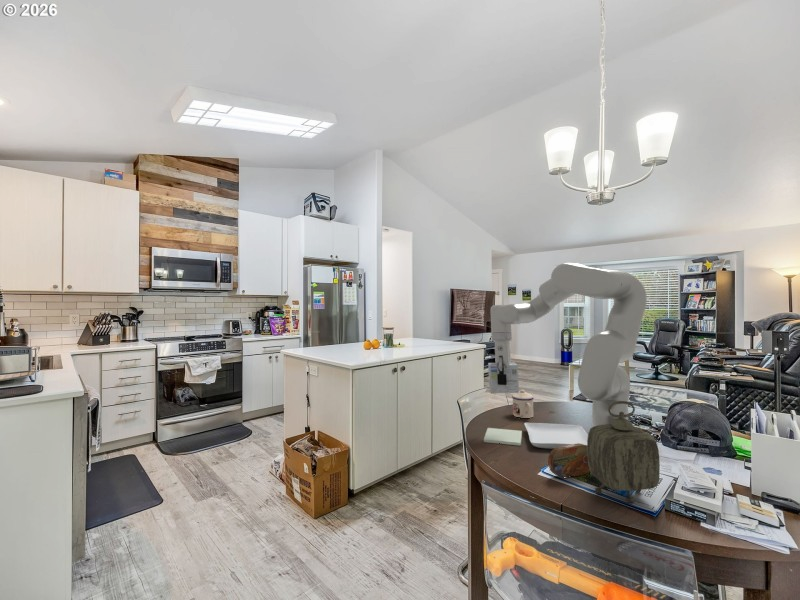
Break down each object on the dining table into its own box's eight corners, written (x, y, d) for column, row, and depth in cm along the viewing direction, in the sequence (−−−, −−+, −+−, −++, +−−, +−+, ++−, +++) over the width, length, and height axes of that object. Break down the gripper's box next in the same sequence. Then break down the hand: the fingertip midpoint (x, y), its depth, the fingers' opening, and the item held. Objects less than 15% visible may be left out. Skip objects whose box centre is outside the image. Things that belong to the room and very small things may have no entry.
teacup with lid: (509, 413, 171) (508, 388, 171) (528, 412, 172) (527, 387, 172) (520, 422, 159) (519, 394, 159) (540, 420, 160) (540, 393, 160)
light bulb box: (516, 389, 147) (515, 361, 147) (519, 393, 141) (518, 364, 141) (488, 389, 149) (487, 362, 149) (490, 393, 142) (489, 364, 142)
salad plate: (598, 455, 125) (597, 444, 125) (531, 451, 129) (530, 441, 129) (580, 433, 145) (580, 424, 146) (523, 430, 150) (523, 422, 150)
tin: (554, 480, 107) (552, 451, 107) (546, 476, 110) (545, 447, 110) (596, 472, 111) (595, 443, 111) (588, 468, 114) (587, 440, 114)
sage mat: (520, 445, 133) (520, 442, 133) (483, 441, 138) (483, 439, 138) (521, 433, 146) (521, 430, 146) (487, 430, 150) (487, 427, 150)
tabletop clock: (640, 488, 102) (637, 396, 102) (665, 507, 92) (662, 405, 93) (587, 491, 101) (585, 398, 101) (607, 509, 92) (604, 407, 92)
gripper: (509, 338, 135) (511, 387, 135) (513, 334, 152) (515, 378, 151) (488, 338, 138) (490, 386, 138) (494, 335, 154) (496, 378, 154)
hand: (503, 382), depth 145 cm, fingers closed on light bulb box, 7 cm apart
